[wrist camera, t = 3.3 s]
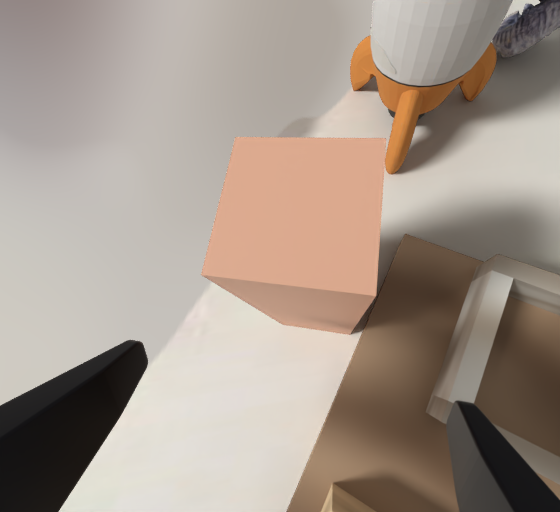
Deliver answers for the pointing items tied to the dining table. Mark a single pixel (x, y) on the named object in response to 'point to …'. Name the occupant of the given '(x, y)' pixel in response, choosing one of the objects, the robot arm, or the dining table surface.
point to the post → (301, 228)
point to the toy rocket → (425, 58)
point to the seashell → (527, 27)
